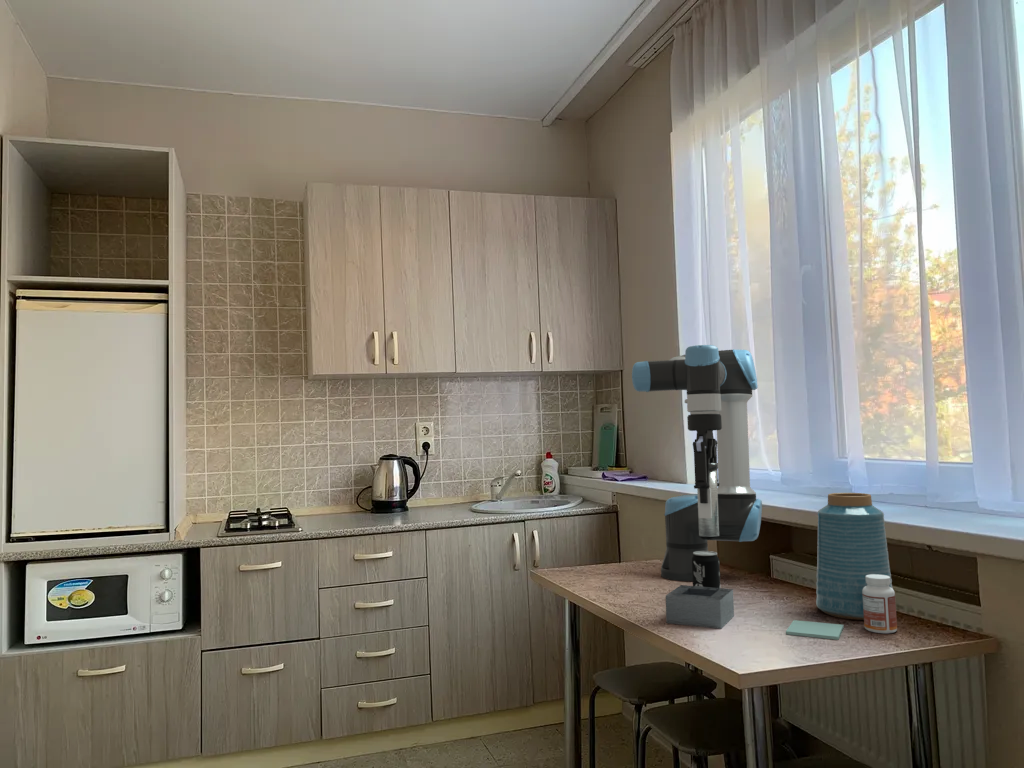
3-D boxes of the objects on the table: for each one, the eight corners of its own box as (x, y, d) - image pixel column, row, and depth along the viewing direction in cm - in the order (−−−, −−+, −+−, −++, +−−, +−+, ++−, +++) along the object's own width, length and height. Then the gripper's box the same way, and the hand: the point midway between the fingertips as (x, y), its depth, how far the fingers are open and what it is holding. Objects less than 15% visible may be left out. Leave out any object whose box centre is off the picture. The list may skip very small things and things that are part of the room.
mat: (793, 622, 165) (793, 620, 165) (843, 627, 160) (843, 624, 160) (785, 634, 156) (785, 631, 156) (838, 639, 152) (838, 636, 152)
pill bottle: (887, 625, 161) (884, 572, 162) (903, 633, 155) (900, 578, 156) (858, 626, 161) (855, 573, 161) (874, 634, 155) (871, 579, 155)
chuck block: (682, 610, 178) (681, 585, 178) (734, 615, 172) (733, 589, 173) (666, 623, 168) (665, 595, 168) (721, 628, 162) (720, 600, 162)
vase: (899, 608, 175) (893, 492, 177) (889, 625, 162) (882, 498, 163) (825, 601, 184) (819, 490, 186) (809, 615, 171) (803, 496, 172)
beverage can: (721, 605, 182) (719, 555, 183) (693, 605, 184) (691, 554, 184) (720, 599, 189) (718, 550, 190) (692, 598, 190) (691, 550, 191)
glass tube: (700, 533, 174) (697, 462, 175) (722, 534, 172) (719, 462, 173) (695, 536, 170) (692, 463, 171) (717, 537, 168) (715, 463, 169)
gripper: (696, 414, 182) (700, 512, 181) (677, 413, 167) (681, 520, 165) (728, 413, 179) (732, 513, 177) (712, 412, 163) (716, 521, 162)
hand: (708, 516), depth 171 cm, fingers closed on glass tube, 4 cm apart
